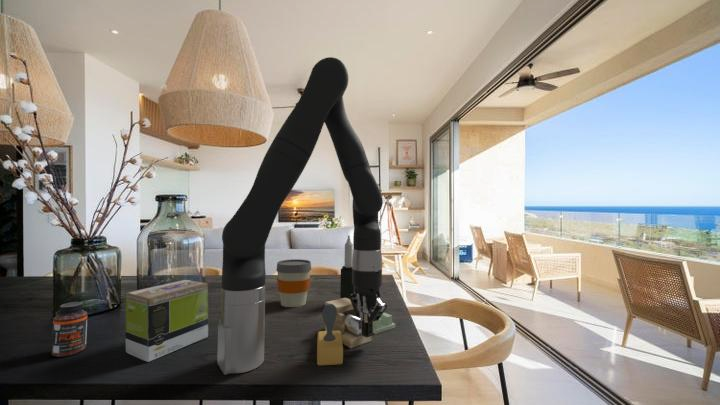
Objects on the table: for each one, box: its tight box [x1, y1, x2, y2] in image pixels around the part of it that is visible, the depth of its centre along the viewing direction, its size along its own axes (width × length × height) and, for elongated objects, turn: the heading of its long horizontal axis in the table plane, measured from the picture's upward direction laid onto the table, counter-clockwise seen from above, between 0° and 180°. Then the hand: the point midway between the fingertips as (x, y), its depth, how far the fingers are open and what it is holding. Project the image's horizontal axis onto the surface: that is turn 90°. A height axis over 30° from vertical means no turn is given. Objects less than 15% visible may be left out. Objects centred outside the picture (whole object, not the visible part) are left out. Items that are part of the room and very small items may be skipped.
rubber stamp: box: [316, 304, 344, 366], centre depth 72 cm, size 10×6×12 cm, turn 7°
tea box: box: [125, 279, 209, 363], centre depth 75 cm, size 15×10×15 cm, turn 152°
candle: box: [339, 235, 355, 299], centre depth 110 cm, size 5×5×25 cm
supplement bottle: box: [51, 301, 88, 358], centre depth 71 cm, size 6×6×11 cm
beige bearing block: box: [324, 298, 373, 349], centre depth 81 cm, size 7×12×8 cm, turn 39°
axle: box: [341, 312, 363, 336], centre depth 83 cm, size 14×4×4 cm, turn 40°
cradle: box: [372, 312, 397, 335], centre depth 91 cm, size 8×13×4 cm, turn 39°
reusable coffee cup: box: [276, 258, 312, 308], centre depth 110 cm, size 13×13×15 cm
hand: (367, 335), depth 75 cm, fingers closed
